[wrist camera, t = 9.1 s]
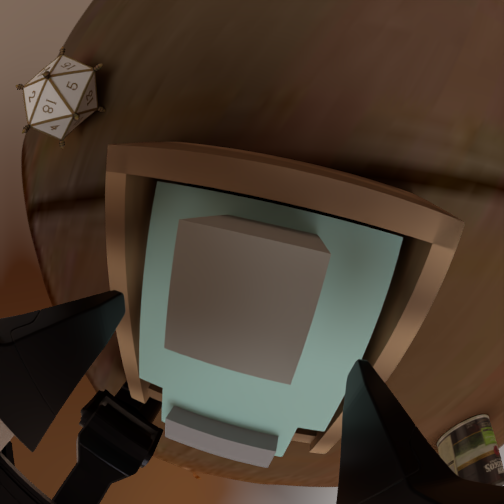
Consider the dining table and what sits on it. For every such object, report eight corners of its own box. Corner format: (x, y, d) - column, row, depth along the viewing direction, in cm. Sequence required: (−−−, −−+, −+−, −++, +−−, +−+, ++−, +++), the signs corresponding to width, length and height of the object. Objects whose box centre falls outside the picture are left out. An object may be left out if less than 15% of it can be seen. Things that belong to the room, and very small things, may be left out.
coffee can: (472, 410, 23) (492, 485, 10) (496, 416, 23) (515, 477, 10) (424, 446, 28) (431, 516, 15) (454, 449, 27) (463, 508, 14)
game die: (116, 116, 23) (57, 184, 18) (62, 88, 20) (1, 147, 15) (139, 50, 16) (56, 113, 11) (74, 23, 13) (-11, 78, 8)
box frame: (328, 391, 26) (325, 453, 18) (166, 347, 28) (131, 397, 21) (412, 193, 17) (465, 222, 10) (175, 141, 19) (107, 144, 12)
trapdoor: (306, 452, 17) (305, 475, 15) (145, 404, 19) (131, 422, 17) (396, 235, 14) (414, 241, 11) (165, 182, 16) (142, 179, 13)
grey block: (295, 320, 15) (290, 384, 9) (212, 298, 15) (164, 347, 9) (318, 234, 14) (330, 254, 8) (227, 214, 14) (179, 219, 8)
